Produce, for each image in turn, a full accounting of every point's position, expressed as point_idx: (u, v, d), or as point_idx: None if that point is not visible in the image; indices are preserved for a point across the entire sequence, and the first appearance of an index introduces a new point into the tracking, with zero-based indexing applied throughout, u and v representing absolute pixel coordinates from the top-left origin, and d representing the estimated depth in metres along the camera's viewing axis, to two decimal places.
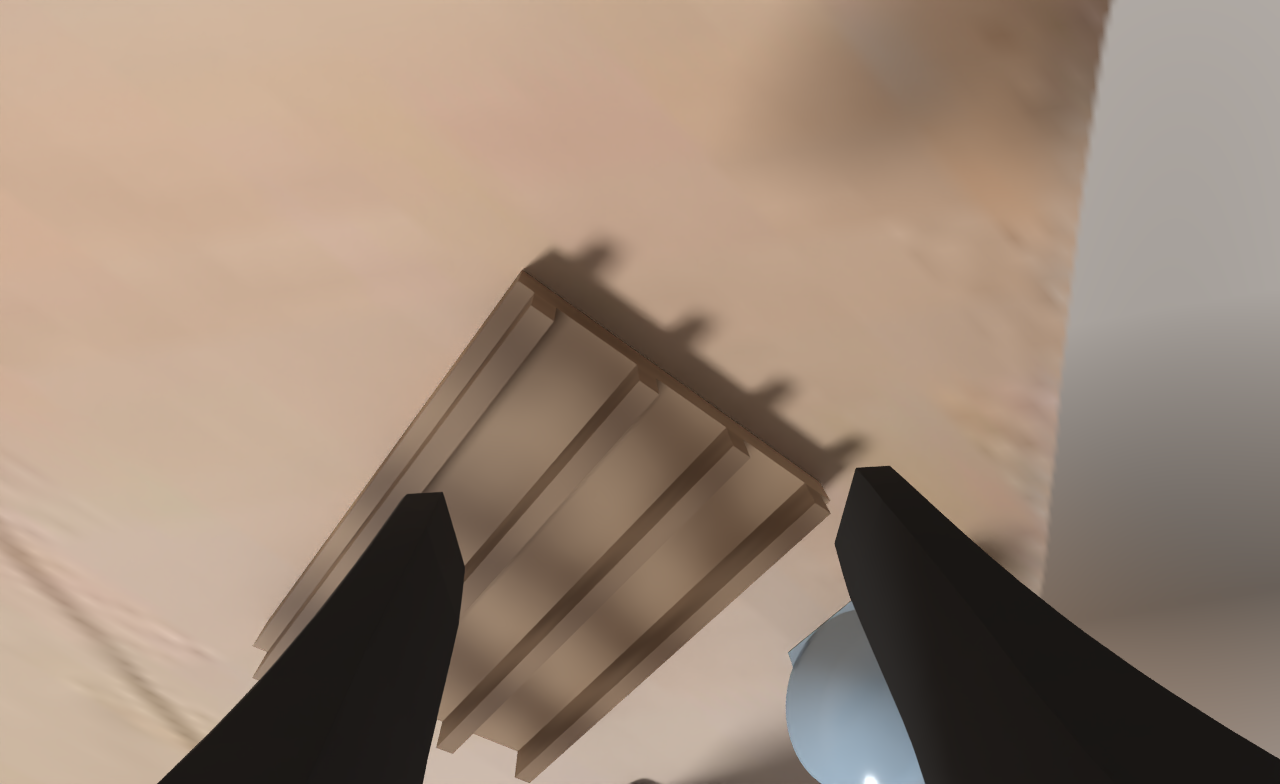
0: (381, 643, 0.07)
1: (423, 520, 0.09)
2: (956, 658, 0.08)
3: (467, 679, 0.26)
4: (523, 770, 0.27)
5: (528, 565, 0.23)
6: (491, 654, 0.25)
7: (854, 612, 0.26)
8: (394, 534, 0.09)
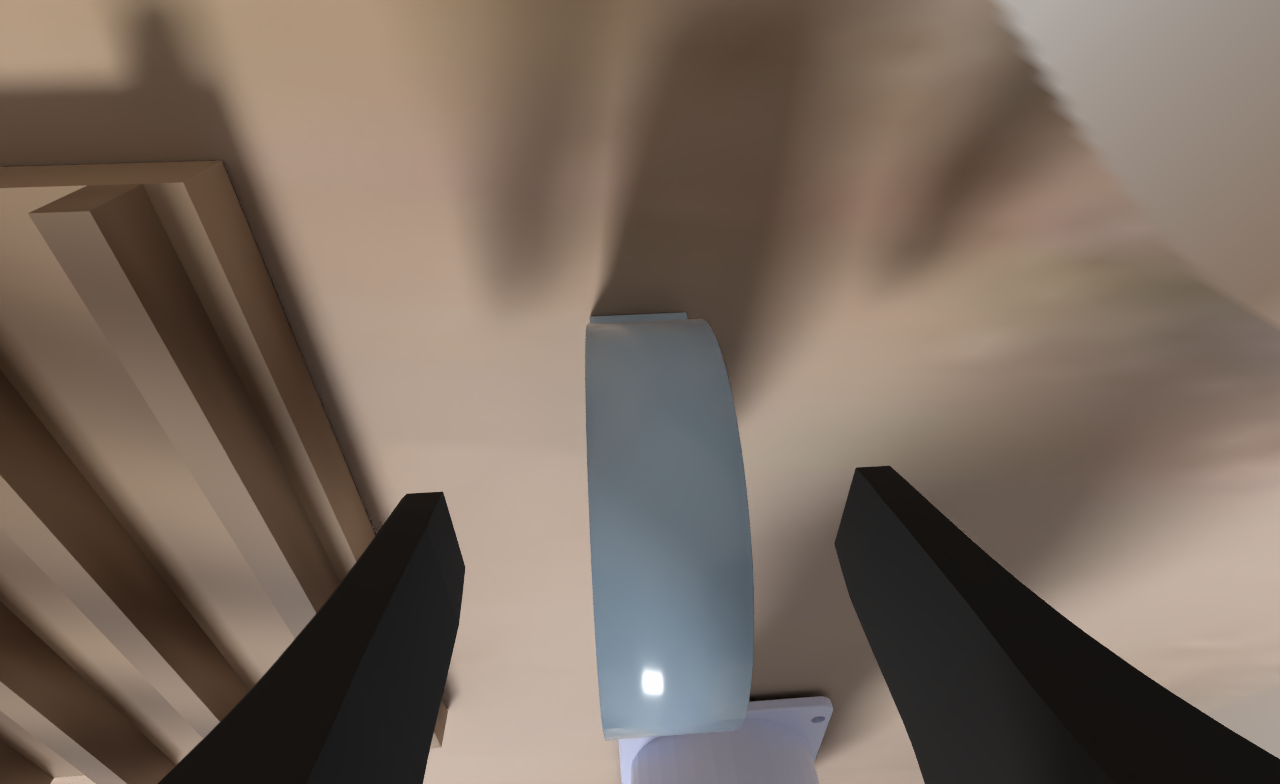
0: (381, 643, 0.07)
1: (423, 520, 0.09)
2: (956, 658, 0.08)
3: None
4: None
5: (38, 584, 0.14)
6: None
7: None
8: (394, 534, 0.09)
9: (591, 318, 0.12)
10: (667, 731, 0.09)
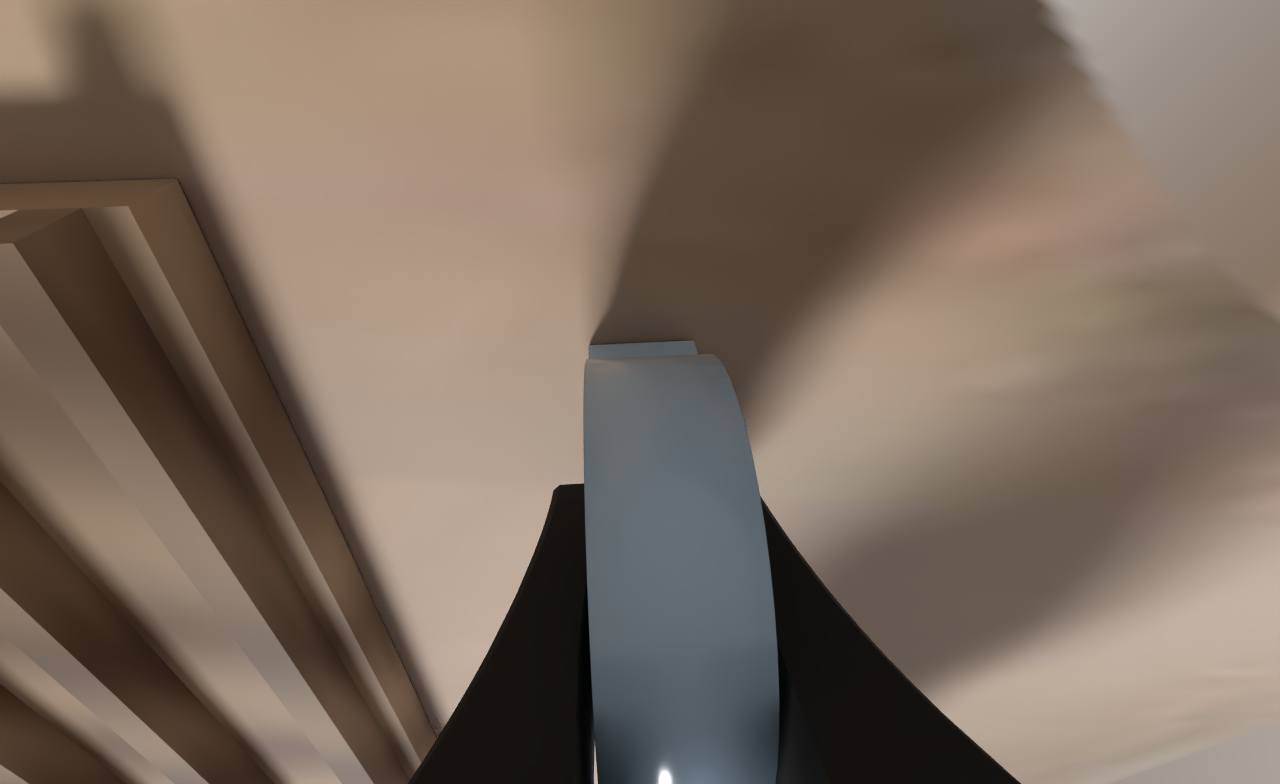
0: (583, 629, 0.08)
1: None
2: None
3: None
4: None
5: None
6: None
7: None
8: (565, 524, 0.09)
9: (590, 347, 0.11)
10: None
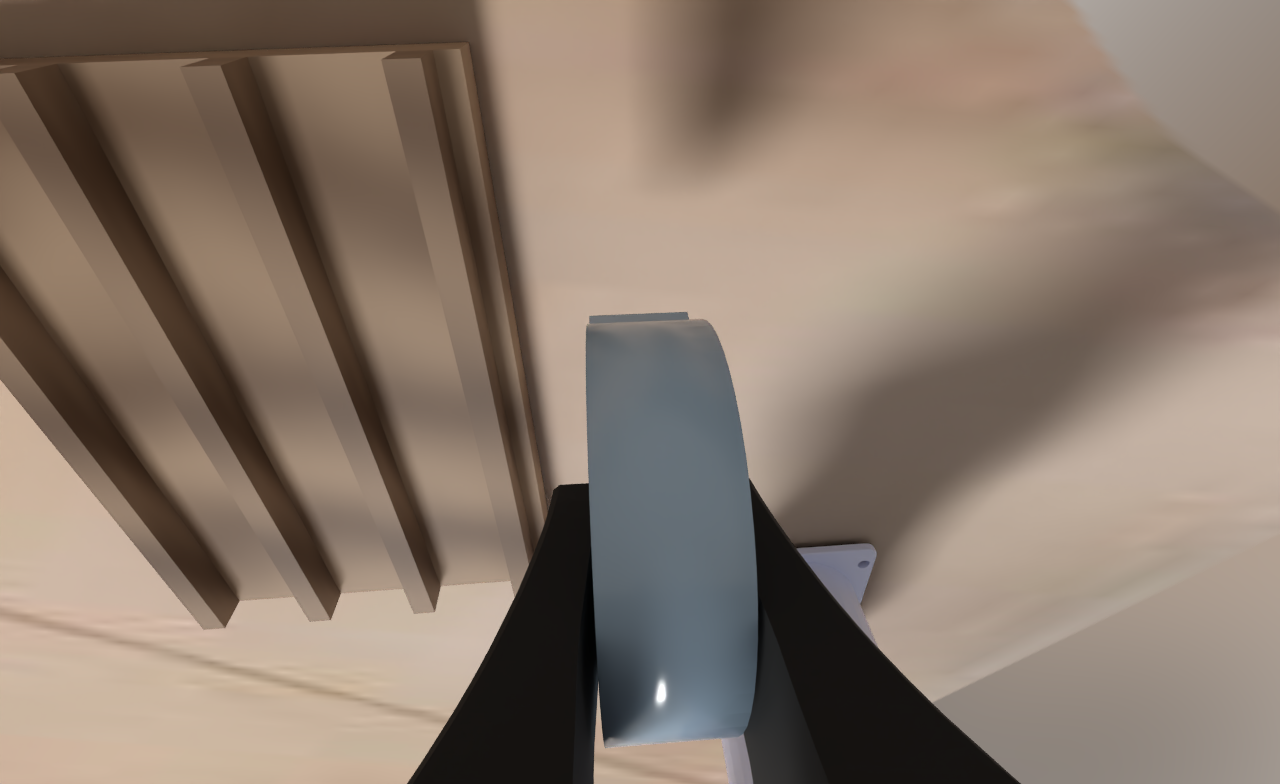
0: (583, 629, 0.08)
1: (587, 510, 0.09)
2: (765, 673, 0.08)
3: None
4: None
5: (276, 399, 0.18)
6: None
7: None
8: (565, 523, 0.09)
9: (591, 318, 0.12)
10: (668, 739, 0.09)
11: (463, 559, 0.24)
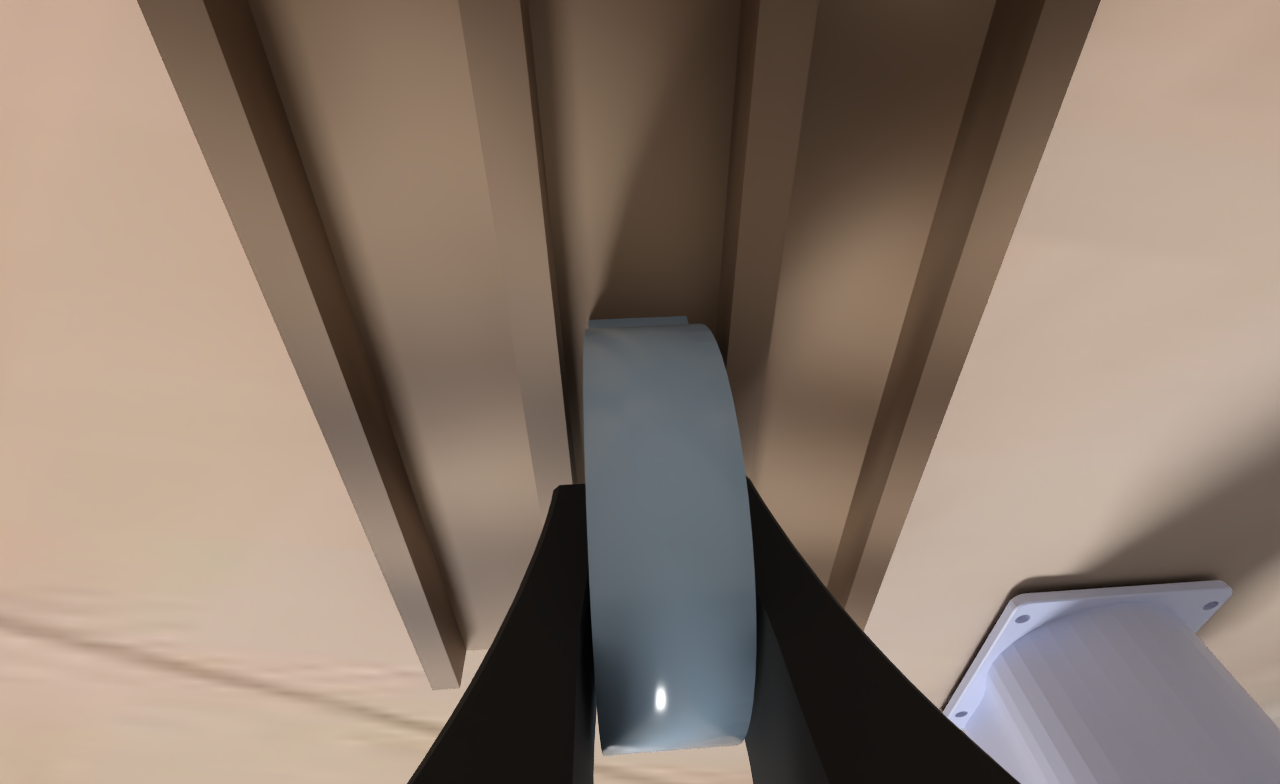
0: (582, 629, 0.08)
1: None
2: (765, 672, 0.08)
3: None
4: None
5: None
6: None
7: None
8: (565, 524, 0.09)
9: (590, 322, 0.12)
10: (667, 747, 0.08)
11: None
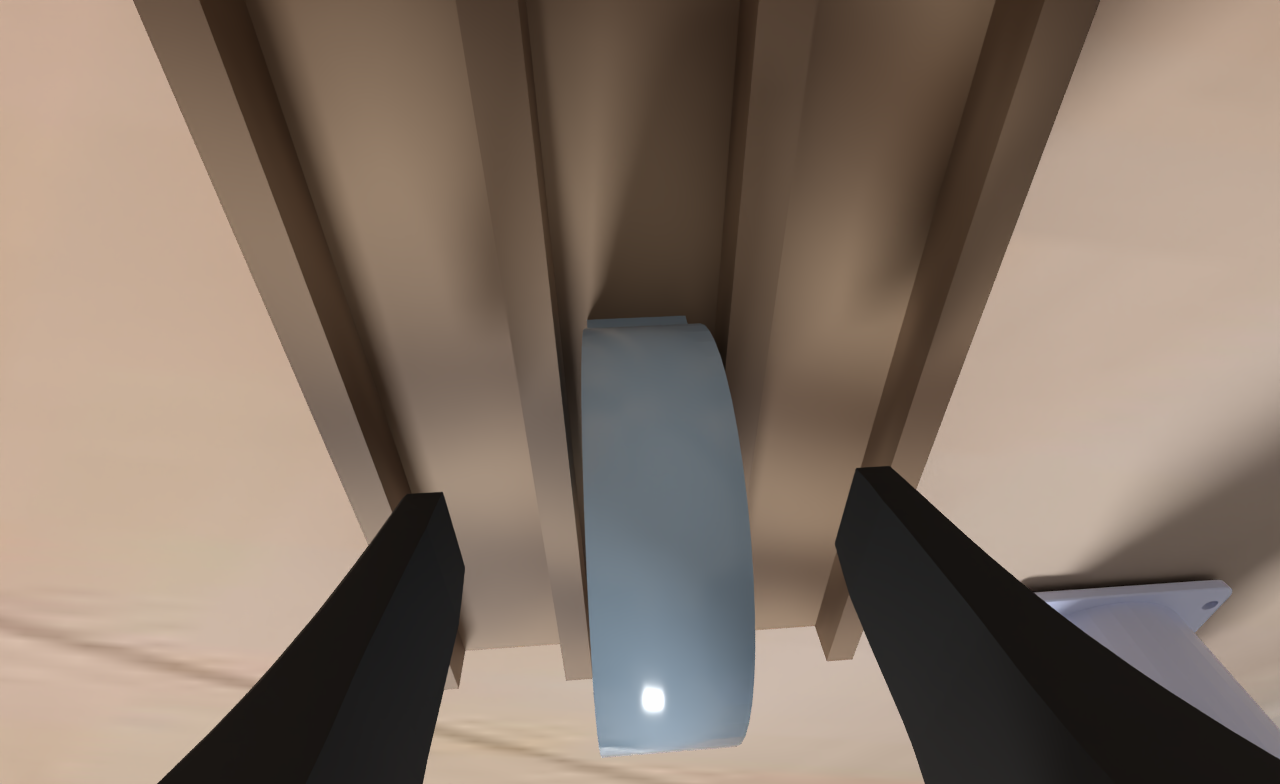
0: (381, 643, 0.07)
1: (423, 520, 0.09)
2: (956, 658, 0.08)
3: None
4: (831, 649, 0.18)
5: None
6: None
7: None
8: (394, 534, 0.09)
9: (588, 321, 0.12)
10: (665, 749, 0.08)
11: (760, 601, 0.18)
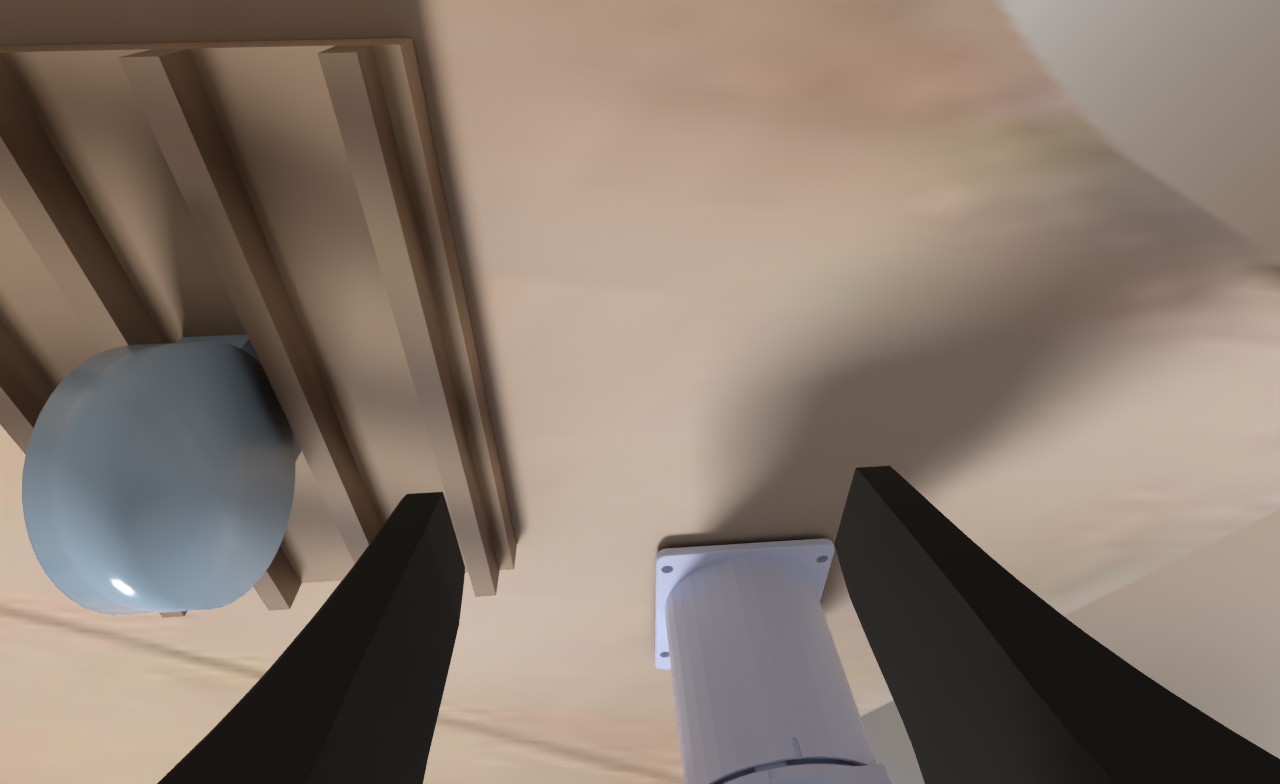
0: (381, 643, 0.07)
1: (423, 520, 0.09)
2: (956, 658, 0.08)
3: None
4: (473, 586, 0.23)
5: None
6: None
7: None
8: (394, 534, 0.09)
9: (181, 338, 0.17)
10: (123, 603, 0.14)
11: None
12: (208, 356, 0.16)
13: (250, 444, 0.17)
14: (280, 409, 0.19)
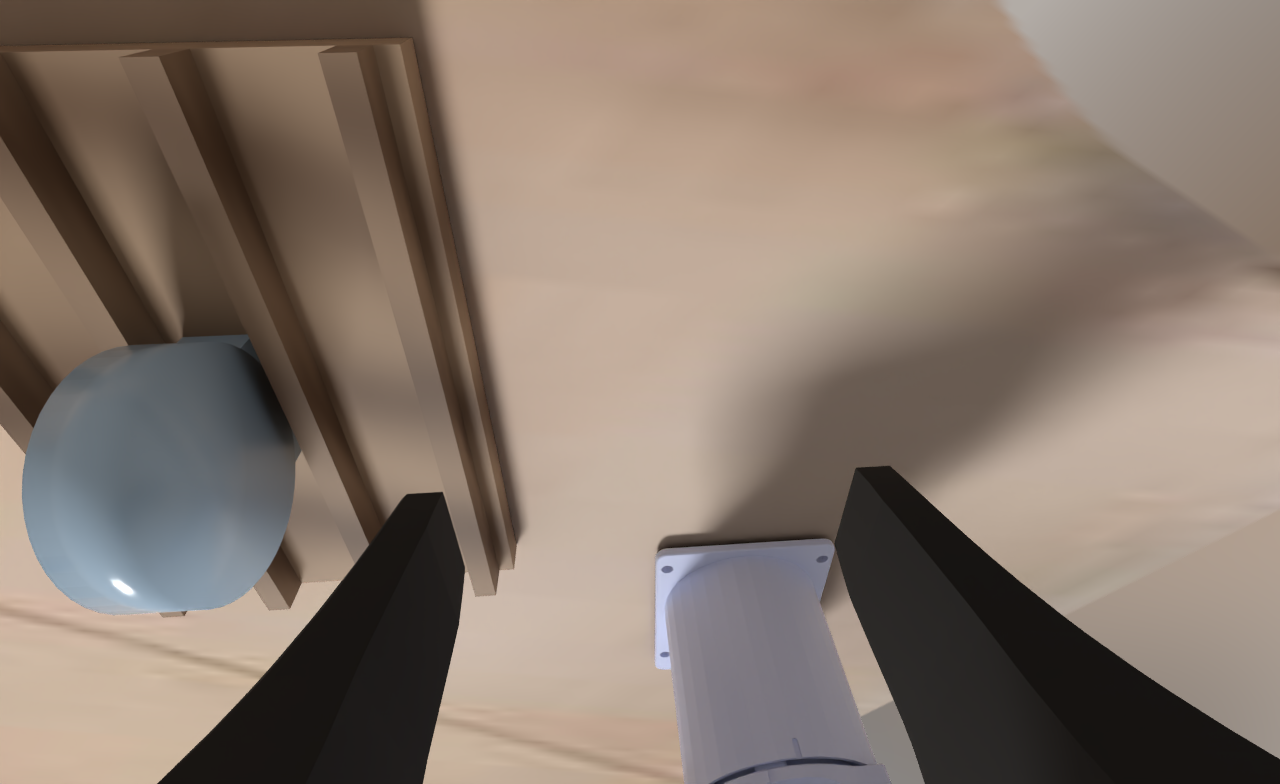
0: (381, 643, 0.07)
1: (423, 520, 0.09)
2: (956, 658, 0.08)
3: None
4: (473, 586, 0.23)
5: None
6: None
7: None
8: (394, 534, 0.09)
9: (181, 338, 0.17)
10: (123, 603, 0.14)
11: None
12: (208, 356, 0.16)
13: (250, 444, 0.17)
14: (280, 409, 0.19)
